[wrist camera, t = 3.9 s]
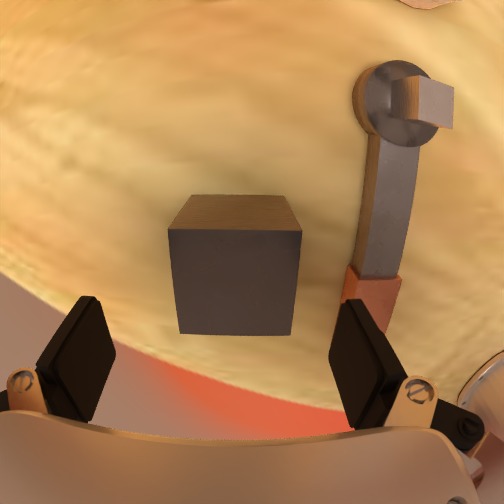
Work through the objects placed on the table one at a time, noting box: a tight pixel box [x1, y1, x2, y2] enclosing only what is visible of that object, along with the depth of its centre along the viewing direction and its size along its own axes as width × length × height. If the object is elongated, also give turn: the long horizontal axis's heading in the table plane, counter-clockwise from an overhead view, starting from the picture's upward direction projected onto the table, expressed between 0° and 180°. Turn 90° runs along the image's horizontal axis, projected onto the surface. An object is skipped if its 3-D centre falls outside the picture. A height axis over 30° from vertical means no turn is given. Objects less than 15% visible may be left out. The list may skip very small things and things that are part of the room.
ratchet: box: [331, 60, 454, 343], centre depth 17 cm, size 23×6×6 cm, turn 179°
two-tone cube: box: [168, 195, 302, 336], centre depth 17 cm, size 6×6×6 cm
